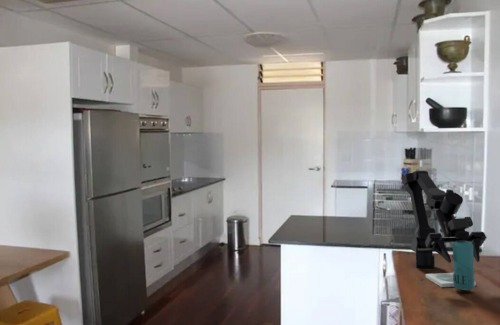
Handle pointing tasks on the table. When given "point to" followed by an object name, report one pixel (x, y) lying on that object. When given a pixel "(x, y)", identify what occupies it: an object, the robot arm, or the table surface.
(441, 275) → the pad
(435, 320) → the table surface
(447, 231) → the robot arm
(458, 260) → the beverage bottle
